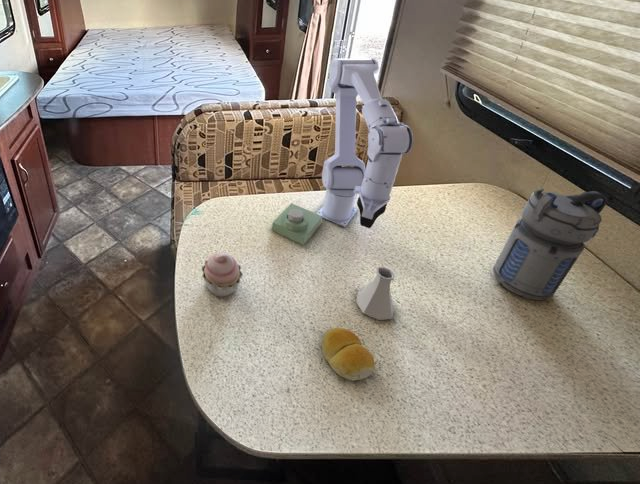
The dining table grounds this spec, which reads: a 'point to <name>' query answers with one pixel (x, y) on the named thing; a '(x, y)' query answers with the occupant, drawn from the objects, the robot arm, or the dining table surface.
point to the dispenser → (297, 225)
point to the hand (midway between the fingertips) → (365, 225)
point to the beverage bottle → (547, 242)
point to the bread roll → (347, 354)
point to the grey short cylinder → (295, 215)
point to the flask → (377, 296)
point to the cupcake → (221, 274)
